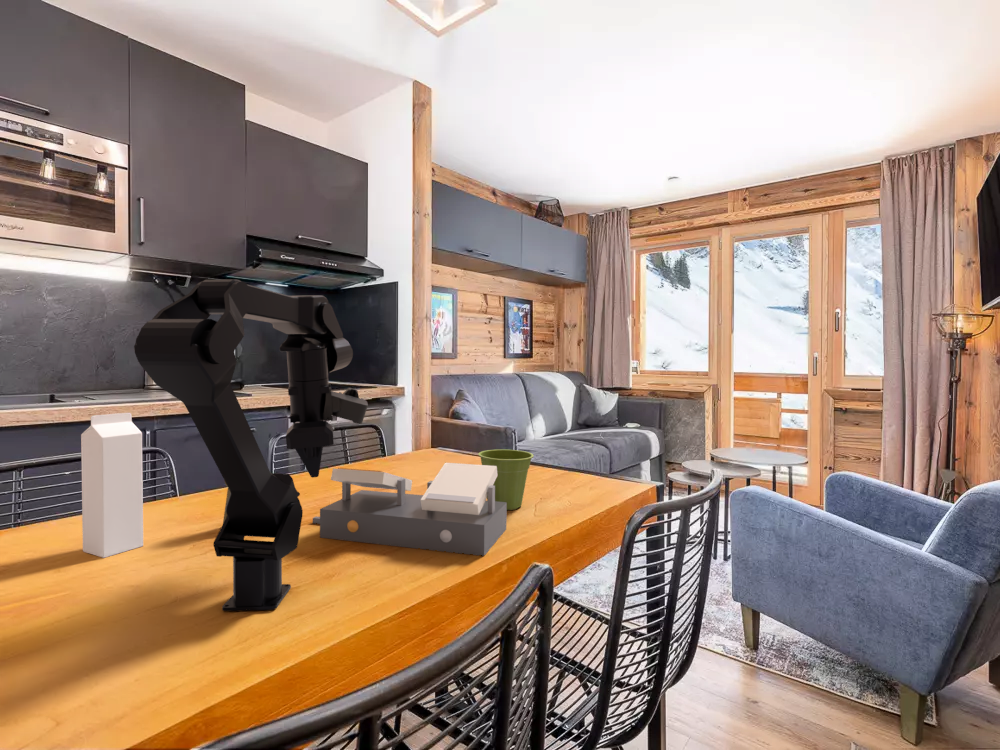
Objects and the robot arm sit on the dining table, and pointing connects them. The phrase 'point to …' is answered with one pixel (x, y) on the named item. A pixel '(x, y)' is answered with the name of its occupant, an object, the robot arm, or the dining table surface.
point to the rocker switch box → (411, 522)
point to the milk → (112, 485)
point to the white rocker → (459, 488)
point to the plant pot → (508, 474)
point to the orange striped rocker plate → (368, 478)
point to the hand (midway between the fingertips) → (314, 476)
